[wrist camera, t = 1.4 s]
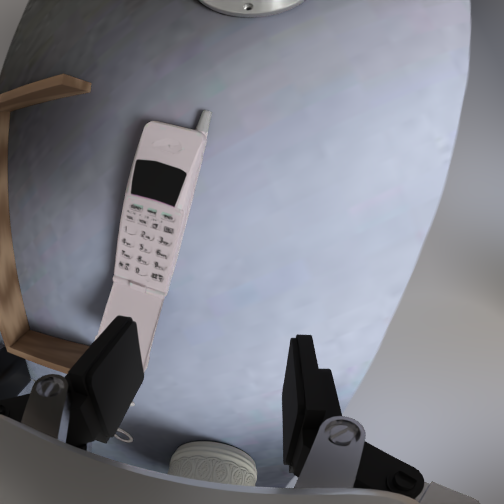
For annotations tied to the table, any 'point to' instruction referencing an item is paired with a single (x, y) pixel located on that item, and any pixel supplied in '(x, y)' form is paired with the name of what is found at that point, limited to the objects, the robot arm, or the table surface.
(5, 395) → the wine bottle
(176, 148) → the mobile phone
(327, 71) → the table surface
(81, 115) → the table surface
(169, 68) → the table surface
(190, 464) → the jar
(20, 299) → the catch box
